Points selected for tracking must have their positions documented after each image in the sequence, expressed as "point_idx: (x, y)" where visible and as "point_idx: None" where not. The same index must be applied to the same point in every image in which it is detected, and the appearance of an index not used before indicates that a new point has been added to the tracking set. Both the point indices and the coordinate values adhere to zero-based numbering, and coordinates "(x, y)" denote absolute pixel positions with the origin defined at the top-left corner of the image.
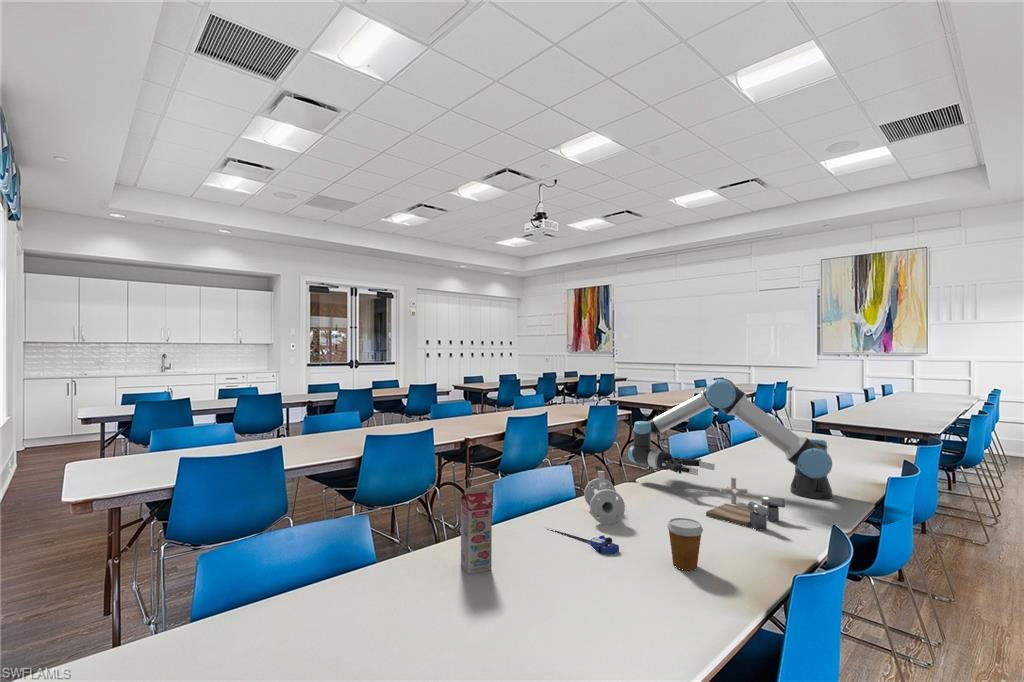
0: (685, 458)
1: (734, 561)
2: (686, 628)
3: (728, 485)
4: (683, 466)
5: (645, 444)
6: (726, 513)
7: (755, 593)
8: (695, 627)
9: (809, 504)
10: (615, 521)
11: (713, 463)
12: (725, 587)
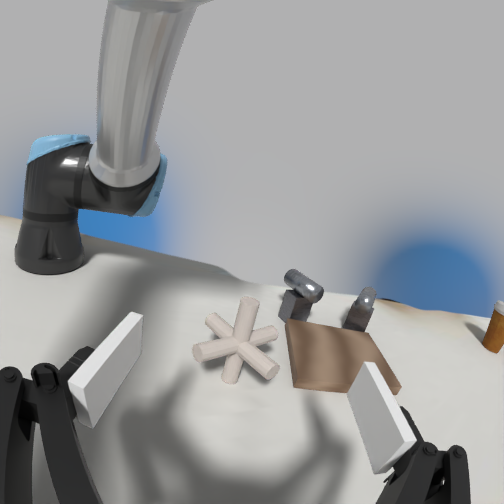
0: None
1: (448, 331)
2: None
3: (207, 349)
4: (409, 436)
5: None
6: (366, 361)
7: (456, 317)
8: None
9: (127, 274)
10: None
11: (133, 315)
12: (471, 327)
